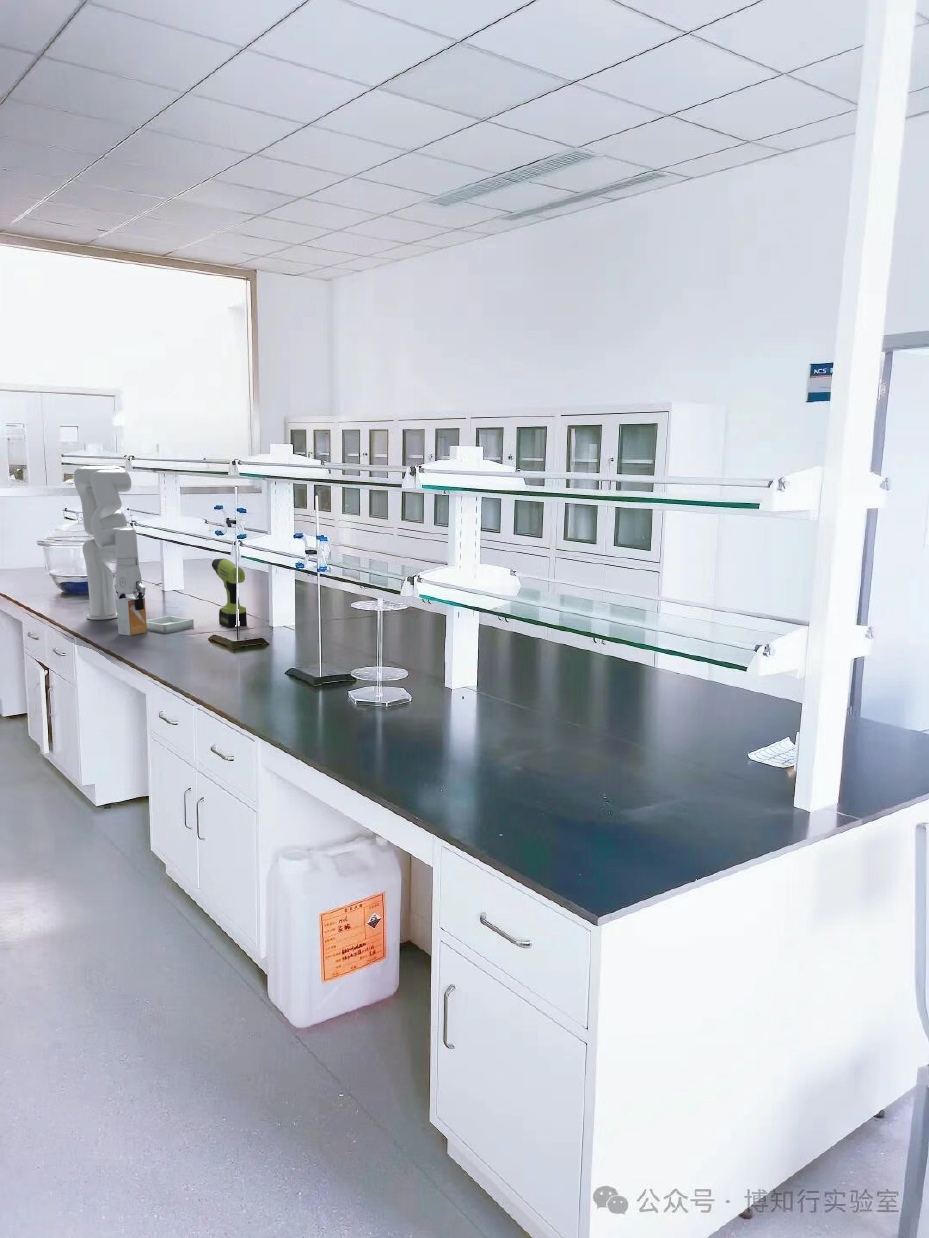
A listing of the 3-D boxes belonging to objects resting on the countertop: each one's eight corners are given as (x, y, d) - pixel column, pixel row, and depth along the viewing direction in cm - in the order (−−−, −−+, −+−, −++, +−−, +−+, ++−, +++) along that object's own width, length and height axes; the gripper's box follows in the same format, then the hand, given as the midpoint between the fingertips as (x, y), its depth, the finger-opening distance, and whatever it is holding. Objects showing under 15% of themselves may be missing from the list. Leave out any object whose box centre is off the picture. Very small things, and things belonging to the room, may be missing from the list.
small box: (130, 636, 331) (127, 600, 329) (118, 634, 334) (115, 599, 332) (147, 631, 338) (145, 597, 336) (135, 630, 341) (133, 596, 339)
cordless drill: (208, 620, 360) (204, 557, 355) (225, 617, 364) (221, 555, 359) (232, 629, 342) (228, 563, 337) (249, 626, 346) (246, 561, 341)
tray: (141, 628, 344) (141, 621, 343) (170, 623, 354) (170, 615, 354) (164, 633, 336) (164, 625, 335) (193, 627, 346) (193, 619, 345)
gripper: (104, 562, 333) (108, 608, 336) (132, 564, 323) (136, 612, 326) (122, 560, 339) (126, 605, 342) (151, 562, 329) (154, 609, 332)
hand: (131, 608), depth 334 cm, fingers open, 9 cm apart
